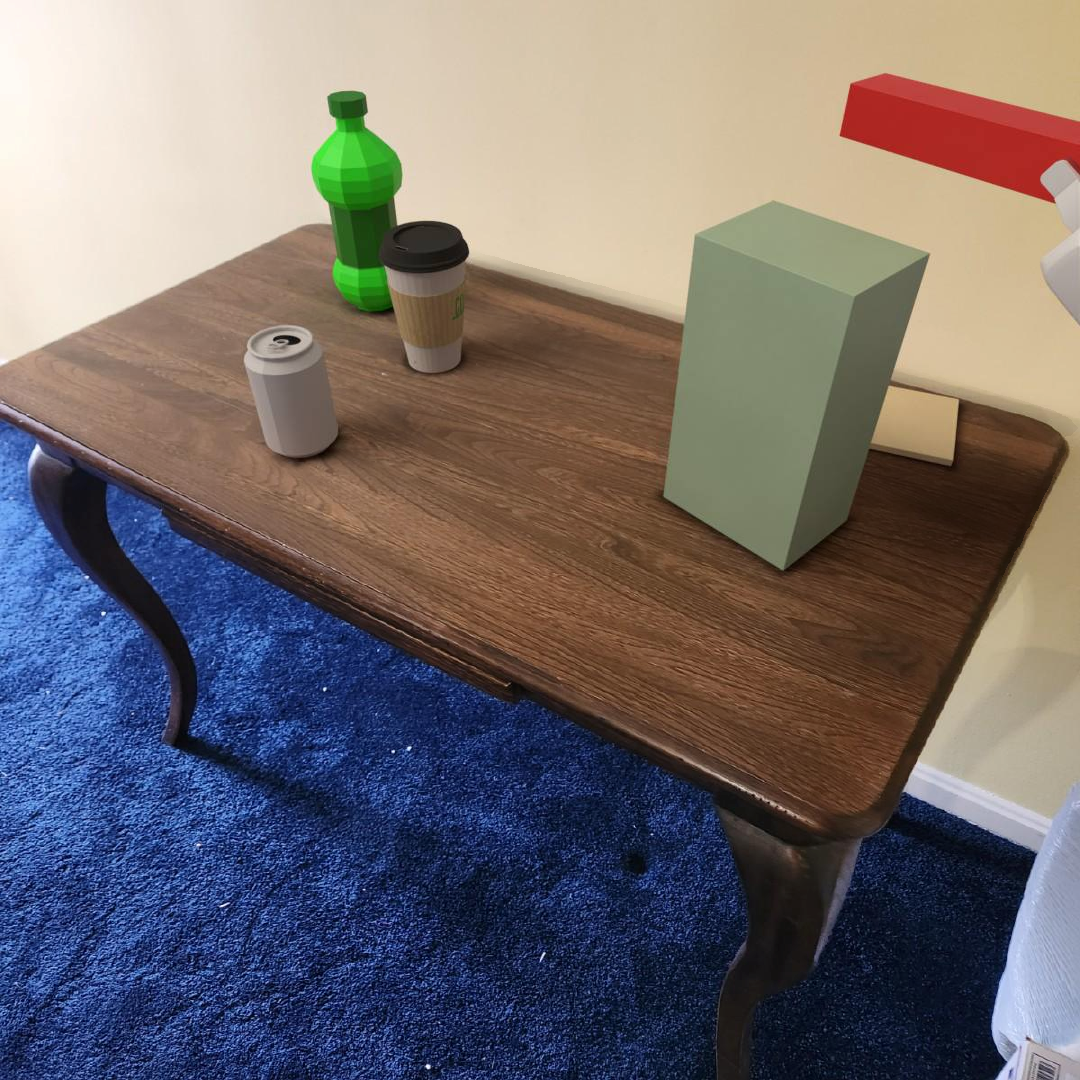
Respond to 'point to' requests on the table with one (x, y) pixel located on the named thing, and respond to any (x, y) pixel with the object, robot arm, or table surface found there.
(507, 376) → the table surface
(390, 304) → the plastic bottle
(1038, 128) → the long red beam
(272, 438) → the can
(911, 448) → the mat
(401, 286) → the coffee cup
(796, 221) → the stand
